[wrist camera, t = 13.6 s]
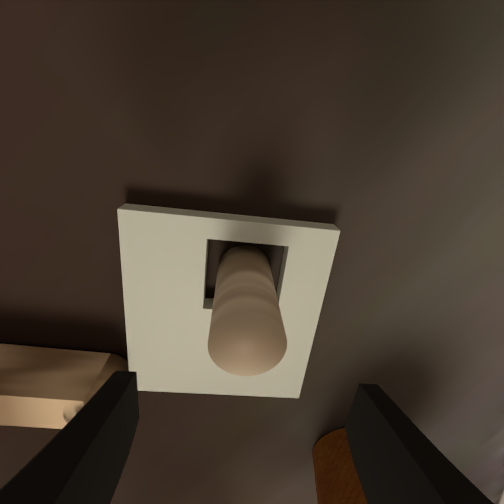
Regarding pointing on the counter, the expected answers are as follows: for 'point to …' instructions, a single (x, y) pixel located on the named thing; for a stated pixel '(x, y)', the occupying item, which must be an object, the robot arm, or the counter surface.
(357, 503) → the disposable coffee cup
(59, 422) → the hinged leg
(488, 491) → the counter surface
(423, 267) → the counter surface
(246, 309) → the loose leg
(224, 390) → the stool seat
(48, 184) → the counter surface
